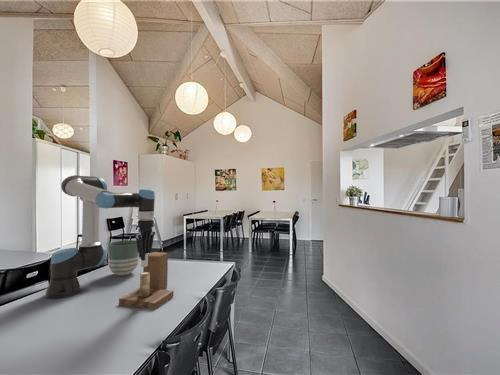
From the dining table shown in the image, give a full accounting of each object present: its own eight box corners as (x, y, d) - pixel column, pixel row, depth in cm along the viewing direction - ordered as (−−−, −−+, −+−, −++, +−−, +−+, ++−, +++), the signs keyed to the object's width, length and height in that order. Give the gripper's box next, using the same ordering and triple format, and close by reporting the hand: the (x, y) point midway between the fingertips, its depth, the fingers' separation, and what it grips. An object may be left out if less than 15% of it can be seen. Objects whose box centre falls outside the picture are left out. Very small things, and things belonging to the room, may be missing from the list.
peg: (137, 303, 124) (137, 274, 125) (143, 299, 129) (144, 272, 129) (145, 304, 123) (145, 275, 124) (151, 300, 128) (151, 272, 128)
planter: (145, 273, 174) (146, 241, 175) (117, 281, 158) (118, 246, 159) (128, 268, 185) (129, 239, 186) (100, 275, 168) (101, 243, 169)
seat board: (118, 304, 123) (118, 298, 123) (141, 292, 138) (141, 287, 138) (154, 309, 118) (154, 302, 118) (173, 296, 133) (173, 290, 133)
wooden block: (158, 293, 138) (159, 256, 139) (142, 291, 140) (142, 255, 141) (167, 286, 148) (168, 252, 149) (152, 285, 150) (153, 251, 151)
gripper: (143, 221, 122) (141, 270, 121) (160, 218, 134) (158, 263, 134) (130, 220, 124) (128, 268, 123) (148, 218, 136) (146, 262, 136)
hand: (144, 266), depth 128 cm, fingers closed
